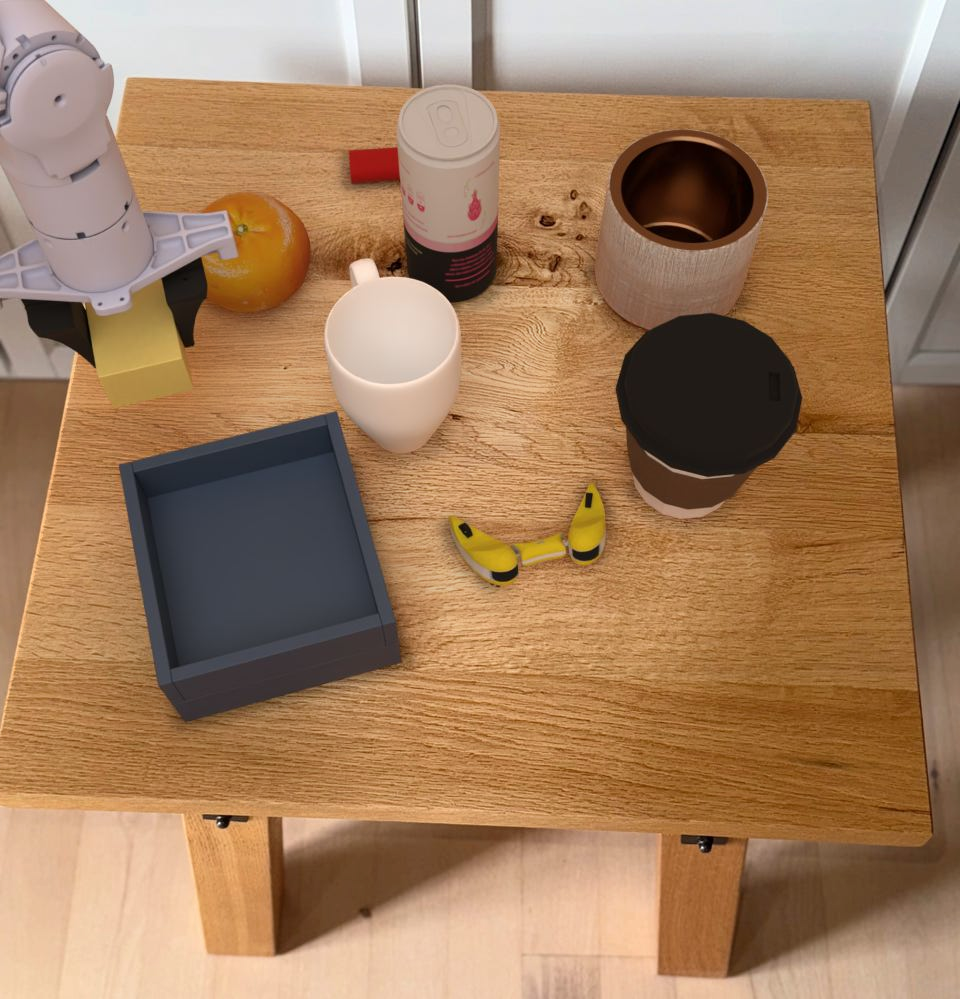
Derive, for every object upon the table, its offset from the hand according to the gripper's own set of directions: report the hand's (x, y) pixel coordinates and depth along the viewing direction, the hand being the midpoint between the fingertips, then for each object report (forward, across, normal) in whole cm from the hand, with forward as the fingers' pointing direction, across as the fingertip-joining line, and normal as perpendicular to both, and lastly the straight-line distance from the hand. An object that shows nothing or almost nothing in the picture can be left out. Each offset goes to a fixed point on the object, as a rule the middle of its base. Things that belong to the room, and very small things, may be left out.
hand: (142, 344), depth 75 cm
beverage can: (+9, +22, +6) cm, 24 cm away
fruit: (+9, +8, +10) cm, 15 cm away
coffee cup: (+9, +32, -14) cm, 36 cm away
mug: (+9, +15, -4) cm, 18 cm away
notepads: (0, 0, 0) cm, 0 cm away
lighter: (+9, +21, +17) cm, 28 cm away
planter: (+9, +37, +2) cm, 38 cm away
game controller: (+9, +21, -16) cm, 28 cm away
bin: (+8, +4, -14) cm, 17 cm away
